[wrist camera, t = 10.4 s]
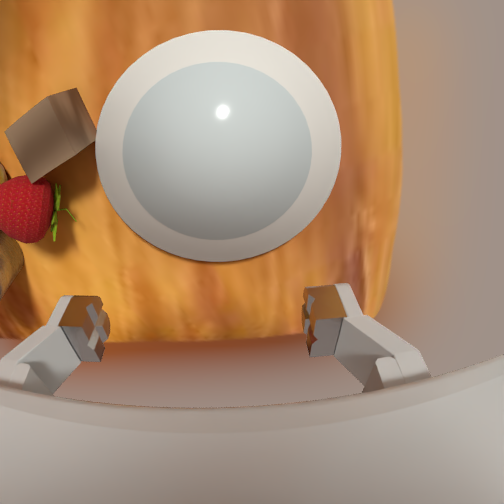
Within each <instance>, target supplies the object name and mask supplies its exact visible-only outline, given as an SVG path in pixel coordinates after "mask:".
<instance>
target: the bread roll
mask: <svg viewBox="0 0 504 504" xmlns="http://www.w3.org/2000/svg"><path fill="white" fill-rule="evenodd" d="M6 181H8V179H7V176H6V172H5V169H4V167H3V166H2V165H1V163H0V184H2V183H4V182H6Z"/></svg>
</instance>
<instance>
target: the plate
mask: <svg viewBox="0 0 504 504" xmlns="http://www.w3.org/2000/svg"><path fill="white" fill-rule="evenodd" d="M95 155H96V162H97V169H98V173H99V177H100V180H101V184H102V186H103V189H104V191H105V193H106V196H107V198H108V199H109V201H110V203H111V204H112V206H113V208H114V209H115V211H116V212H117V213H118V215H119V216H120V217H121V218H122V220H123V221H124V222H125V223H126V224H127V225H128V226H129V227H130V228H131V229H132V230H133V231H134V232H136V233H137V234H138V235H139V236H141V237H142V238H143V239H145V240H146V241H148V242H149V243H151V244H153V245H154V246H156V247H158V248H160V249H162V250H164V251H167V252H169V253H171V254H174V255H177V256H180V257H184V258H188V259H193V260H199V261H208V262H226V261H235V260H241V259H246V258H251V257H254V256H257V255H260V254H263V253H266V252H268V251H270V250H272V249H275V248H277V247H279V246H280V245H282V244H284V243H285V242H287V241H289V240H290V239H292V238H293V237H294V236H296V235H297V234H298V233H299V232H301V231H302V230H303V229H304V228H305V227H306V226H307V225H308V224H309V223H310V222H311V221H312V220H313V219H314V218H315V216H316V215H317V214H318V212H319V211H320V210H321V209H322V207H323V205H324V204H325V202H326V200H327V199H328V197H329V195H330V193H331V190H332V188H333V186H334V184H335V180H336V177H337V173H338V170H339V164H340V158H341V134H340V126H339V121H338V118H337V114H336V111H335V108H334V105H333V103H332V101H331V99H330V96H329V94H328V92H327V91H326V89H325V88H324V86H323V84H322V83H321V81H320V80H319V78H318V77H317V76H316V75H315V74H314V73H313V71H312V70H311V69H310V68H309V67H308V66H307V65H306V64H305V63H304V62H303V61H301V60H300V59H299V58H298V57H297V56H296V55H294V54H293V53H291V52H290V51H288V50H286V49H285V48H283V47H282V46H280V45H278V44H276V43H274V42H271V41H269V40H267V39H265V38H262V37H259V36H255V35H252V34H248V33H243V32H236V31H228V30H211V31H202V32H196V33H190V34H187V35H183V36H180V37H177V38H173V39H171V40H169V41H167V42H165V43H163V44H160V45H158V46H156V47H155V48H153V49H152V50H150V51H149V52H147V53H146V54H144V55H143V56H141V57H140V58H139V59H138V60H137V61H135V62H134V63H133V64H132V65H131V66H130V67H129V68H128V69H127V70H126V71H125V72H124V74H123V75H122V76H121V77H120V78H119V79H118V81H117V82H116V84H115V85H114V87H113V88H112V90H111V92H110V93H109V95H108V97H107V99H106V102H105V104H104V106H103V108H102V111H101V115H100V118H99V121H98V126H97V133H96V143H95Z"/></svg>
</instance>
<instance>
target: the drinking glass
mask: <svg viewBox="0 0 504 504" xmlns="http://www.w3.org/2000/svg"><path fill="white" fill-rule="evenodd" d="M23 265H24V256H23V252H22V250H21V248H20V246H19V244H18V243H17V241H16V240H15V239H13V238H10V237H9V236H8V235H6V234H5V233H4V232H3V231H2V230H0V300H1V298H2V297H3V295H4V294H5V292H6V291H7V289H8V288H9V286H10V285H11V283H12V282H13V280H14V279H15V277H16V276H17V274H18V273H19V272H20V270H21V269H22V267H23Z"/></svg>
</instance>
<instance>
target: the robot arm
mask: <svg viewBox="0 0 504 504" xmlns="http://www.w3.org/2000/svg"><path fill="white" fill-rule="evenodd" d="M303 298H304V301H305V303H304V304H303V306H302V326H303V331H304V333H305V334H307V340H306V344H307V348H308V352H309V356H310V357H318V356H329V355H334V357H335V358H336V359H337V360H338V361H339V362H340V363H341V364H342V365H343V366H344V367H345V368H346V369H347V370H348V371H349V372H351V373H352V374H353V375H354V376H355V377H356V378H357V379H358V380H359V381H360V382H361V383H362V384H363V385H364V386H365V387H364V389H363V391H362V393H359V394H353V395H348V396H341V397H335V398H328V399H321V400H313V401H305V402H296V403H287V404H275V405H263V406H249V407H226V408H225V407H224V408H168V407H145V406H131V405H118V404H108V403H98V402H89V401H82V400H75V399H67V398H61V397H55V396H54V395H53V393H54V392H55V391H56V390H57V389H58V388H59V386H60V385H61V384H62V383H63V382H64V381H65V380H66V379H67V377H68V376H69V375H70V374H71V373H72V372H73V371H74V369H76V367H77V366H78V365H79V364H80V363H81V361H88V362H89V361H90V362H101V359H102V356H103V353H104V350H105V347H104V344H103V342H105V341H106V340H107V339H108V337H109V334H110V321H109V317H108V315H107V313H106V312H105V311H103V310H102V306H103V303H102V301H101V298H100V297H98V296H79V295H74V296H68V295H64V296H62V297H61V298H60V300H59V301H58V303H57V305H56V307H55V309H54V311H53V313H52V315H51V317H50V319H49V321H48V323H47V325H46V326H42V327H41V328H39V329H38V330H37V331H35V332H34V333H33V334H31V335H30V336H29V337H28V338H26V339H25V340H24V341H23V342H21V343H20V344H19V345H18V346H16V347H15V348H14V349H13V350H11V351H10V352H9V353H8V354H6V355H5V356H4V357H3V358H1V360H0V504H504V354H503V355H500V356H498V357H495V358H492V359H489V360H486V361H483V362H481V363H478V364H475V365H471V366H468V367H465V368H462V369H459V370H456V371H452V372H449V373H445V374H442V375H438V376H435V377H431V375H430V373H429V371H428V369H427V366H426V364H425V362H424V360H423V358H422V356H421V354H420V352H419V350H418V349H416V348H415V347H414V346H412V345H411V344H409V343H408V342H406V341H405V340H403V339H402V338H400V337H399V336H397V335H396V334H394V333H393V332H392V331H390V330H389V329H387V328H386V327H384V326H382V325H381V324H380V323H378V322H377V321H375V320H374V319H372V318H371V317H369V316H368V315H363V314H362V311H361V309H360V307H359V305H358V302H357V300H356V298H355V296H354V293H353V291H352V289H351V287H350V285H349V284H348V283H343V284H334V285H324V286H312V287H305V288H304V293H303Z"/></svg>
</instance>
